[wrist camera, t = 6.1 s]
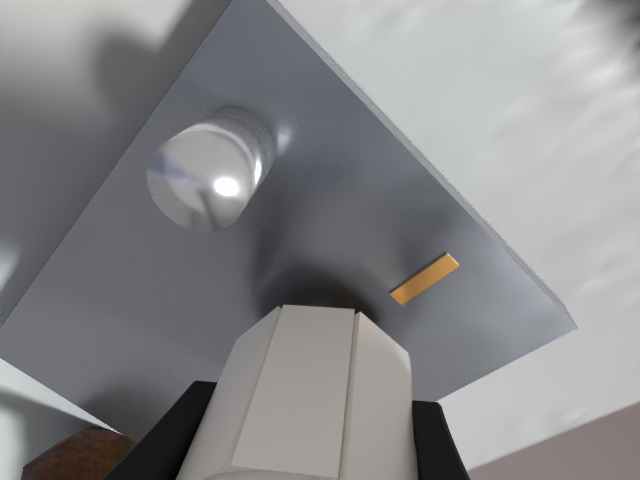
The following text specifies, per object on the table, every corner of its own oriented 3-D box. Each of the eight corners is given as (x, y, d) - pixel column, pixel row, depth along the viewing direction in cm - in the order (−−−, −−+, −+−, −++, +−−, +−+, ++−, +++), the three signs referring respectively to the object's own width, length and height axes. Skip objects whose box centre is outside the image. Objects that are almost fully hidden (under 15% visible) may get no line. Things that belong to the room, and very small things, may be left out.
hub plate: (241, 482, 20) (215, 570, 17) (6, 330, 17) (-78, 404, 14) (564, 305, 13) (620, 402, 10) (259, -19, 10) (200, -26, 6)
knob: (323, 447, 14) (288, 709, 9) (206, 363, 13) (85, 613, 8) (444, 384, 12) (489, 683, 7) (317, 274, 11) (252, 541, 5)
